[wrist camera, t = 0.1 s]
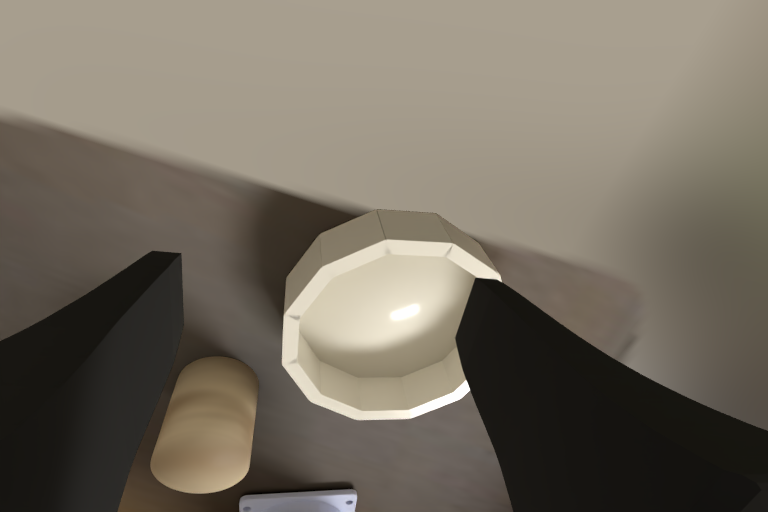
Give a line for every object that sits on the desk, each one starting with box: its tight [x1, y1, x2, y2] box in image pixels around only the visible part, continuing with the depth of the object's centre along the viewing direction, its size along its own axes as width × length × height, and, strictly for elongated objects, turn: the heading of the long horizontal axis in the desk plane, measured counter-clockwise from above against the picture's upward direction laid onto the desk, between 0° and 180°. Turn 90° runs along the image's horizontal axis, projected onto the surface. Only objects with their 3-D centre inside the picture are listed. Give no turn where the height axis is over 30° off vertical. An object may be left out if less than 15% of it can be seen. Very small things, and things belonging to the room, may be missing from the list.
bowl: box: [282, 209, 502, 420], centre depth 23 cm, size 11×11×3 cm
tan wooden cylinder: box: [150, 356, 259, 494], centre depth 23 cm, size 4×4×5 cm
